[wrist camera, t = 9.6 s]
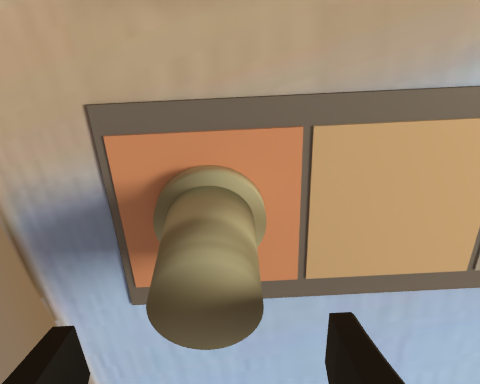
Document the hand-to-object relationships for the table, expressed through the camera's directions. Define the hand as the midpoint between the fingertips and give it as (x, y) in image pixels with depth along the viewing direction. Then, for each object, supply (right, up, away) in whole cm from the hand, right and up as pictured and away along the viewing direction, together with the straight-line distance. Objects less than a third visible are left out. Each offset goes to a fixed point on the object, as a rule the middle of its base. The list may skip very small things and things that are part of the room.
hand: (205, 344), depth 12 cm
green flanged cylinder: (0, +3, +6) cm, 7 cm away
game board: (+8, +4, +6) cm, 11 cm away
